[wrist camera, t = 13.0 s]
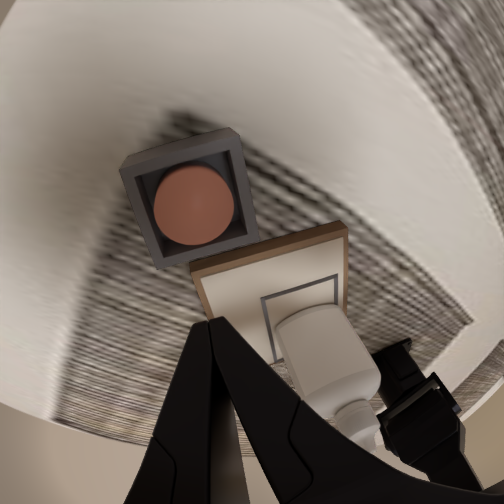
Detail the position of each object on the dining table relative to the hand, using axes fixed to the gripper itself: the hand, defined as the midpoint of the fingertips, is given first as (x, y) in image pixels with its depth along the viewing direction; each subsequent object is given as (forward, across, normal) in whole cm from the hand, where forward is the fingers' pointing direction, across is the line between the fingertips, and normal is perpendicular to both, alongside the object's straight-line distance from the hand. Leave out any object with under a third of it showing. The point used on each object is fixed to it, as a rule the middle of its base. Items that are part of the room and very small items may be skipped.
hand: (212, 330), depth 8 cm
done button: (+10, 0, 0) cm, 10 cm away
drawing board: (+12, -4, +11) cm, 17 cm away
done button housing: (+12, 0, 0) cm, 12 cm away
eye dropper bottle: (+10, -6, +13) cm, 17 cm away
